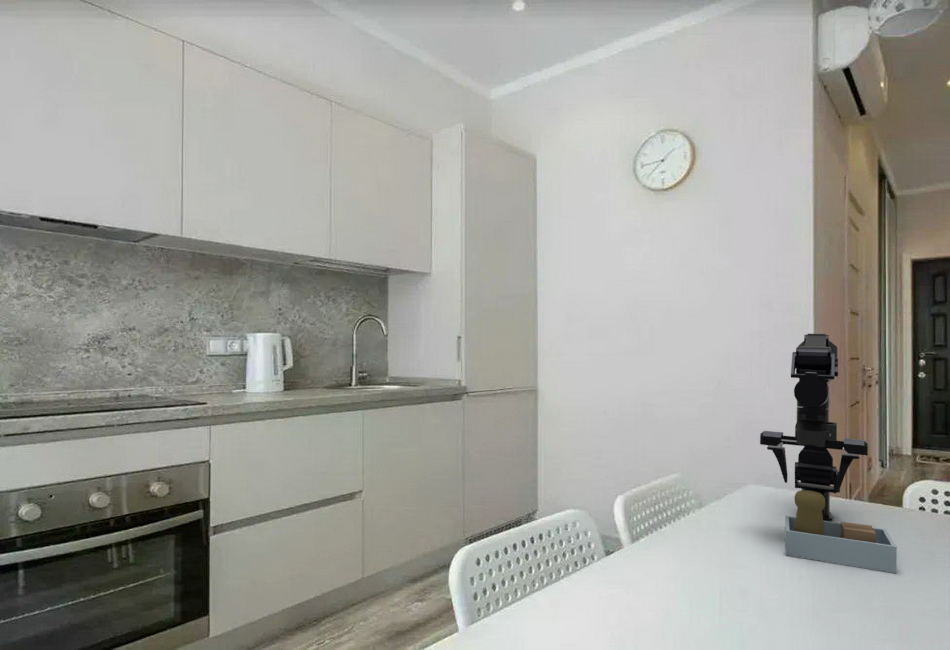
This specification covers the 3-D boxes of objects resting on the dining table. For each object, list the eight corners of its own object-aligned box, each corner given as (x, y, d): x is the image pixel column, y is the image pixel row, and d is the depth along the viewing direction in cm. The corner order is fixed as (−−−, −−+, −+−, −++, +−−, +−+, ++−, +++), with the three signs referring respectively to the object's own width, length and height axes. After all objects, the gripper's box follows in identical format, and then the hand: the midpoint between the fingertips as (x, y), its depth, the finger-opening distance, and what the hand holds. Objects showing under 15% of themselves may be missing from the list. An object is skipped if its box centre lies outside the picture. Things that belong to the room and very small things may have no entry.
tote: (785, 538, 122) (785, 515, 122) (885, 553, 114) (885, 529, 114) (785, 555, 112) (786, 530, 112) (896, 573, 104) (896, 547, 104)
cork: (809, 542, 118) (809, 486, 118) (835, 553, 112) (835, 494, 112) (784, 545, 116) (784, 488, 116) (809, 556, 110) (810, 496, 110)
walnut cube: (840, 547, 115) (840, 521, 115) (871, 552, 113) (871, 525, 113) (843, 555, 111) (843, 528, 111) (875, 560, 109) (875, 533, 109)
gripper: (757, 403, 119) (755, 483, 118) (868, 411, 110) (868, 498, 108) (763, 404, 129) (762, 478, 127) (866, 412, 119) (866, 491, 117)
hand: (811, 485), depth 120 cm, fingers open, 9 cm apart
